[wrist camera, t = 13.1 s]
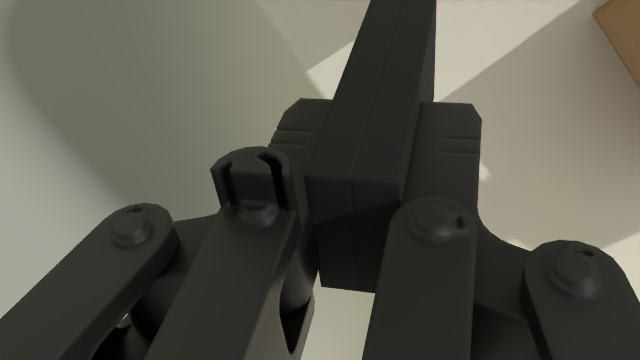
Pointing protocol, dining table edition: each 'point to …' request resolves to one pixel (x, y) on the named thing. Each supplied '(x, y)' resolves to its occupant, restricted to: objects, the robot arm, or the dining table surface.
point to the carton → (623, 31)
